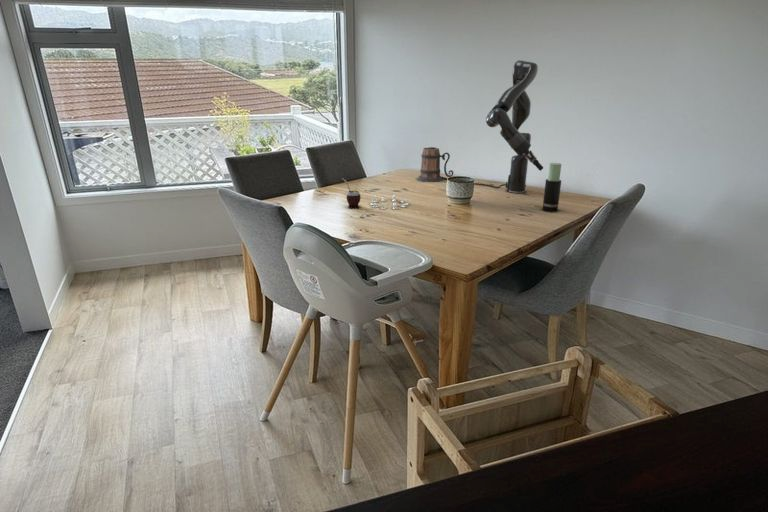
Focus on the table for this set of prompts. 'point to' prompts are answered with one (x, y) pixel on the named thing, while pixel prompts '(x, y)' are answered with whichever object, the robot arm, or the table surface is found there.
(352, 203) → the mate gourd
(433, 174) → the tankard
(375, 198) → the game piece set
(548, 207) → the thermos
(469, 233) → the table surface
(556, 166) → the cap
